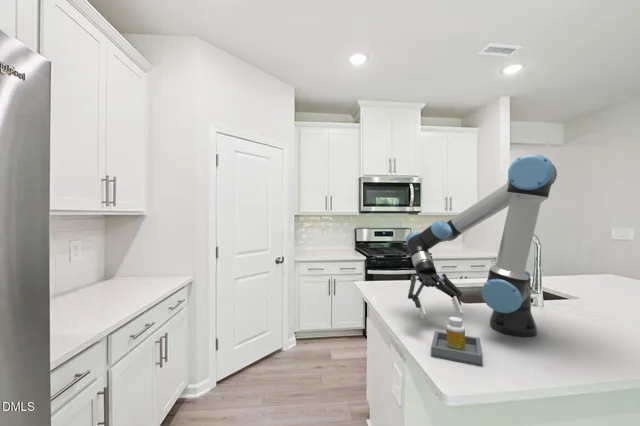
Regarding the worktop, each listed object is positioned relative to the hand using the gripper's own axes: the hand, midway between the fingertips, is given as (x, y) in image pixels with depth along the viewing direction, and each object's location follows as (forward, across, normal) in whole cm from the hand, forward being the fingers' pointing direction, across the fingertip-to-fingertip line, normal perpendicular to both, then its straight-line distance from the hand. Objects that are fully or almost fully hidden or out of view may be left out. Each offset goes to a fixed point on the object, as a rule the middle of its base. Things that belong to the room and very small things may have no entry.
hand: (442, 315), depth 104 cm
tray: (+13, 0, +1) cm, 13 cm away
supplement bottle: (+12, 0, +1) cm, 12 cm away
